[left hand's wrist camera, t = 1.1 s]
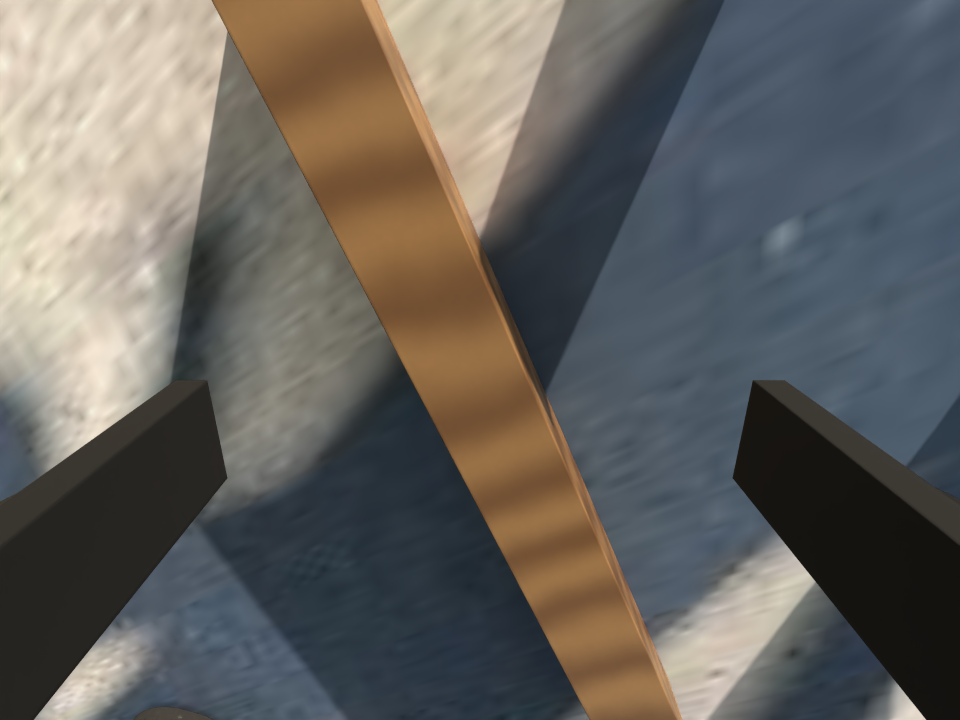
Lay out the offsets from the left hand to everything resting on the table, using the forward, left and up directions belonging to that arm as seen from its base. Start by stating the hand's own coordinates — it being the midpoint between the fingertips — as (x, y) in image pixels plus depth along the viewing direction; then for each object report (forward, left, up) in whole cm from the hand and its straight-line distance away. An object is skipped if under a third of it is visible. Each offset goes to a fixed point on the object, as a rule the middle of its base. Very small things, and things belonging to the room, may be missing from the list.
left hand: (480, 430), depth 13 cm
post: (+3, +10, -21) cm, 23 cm away
